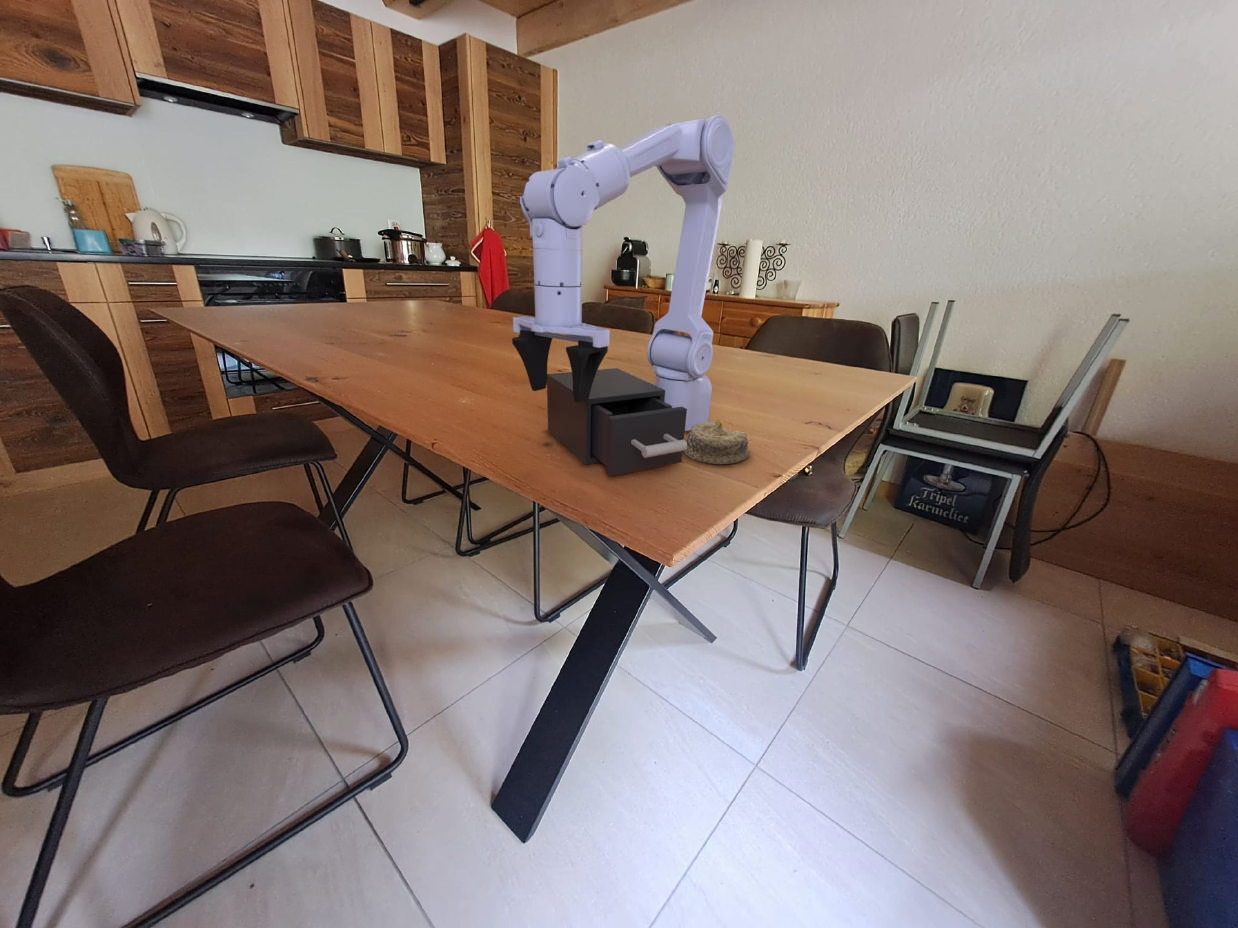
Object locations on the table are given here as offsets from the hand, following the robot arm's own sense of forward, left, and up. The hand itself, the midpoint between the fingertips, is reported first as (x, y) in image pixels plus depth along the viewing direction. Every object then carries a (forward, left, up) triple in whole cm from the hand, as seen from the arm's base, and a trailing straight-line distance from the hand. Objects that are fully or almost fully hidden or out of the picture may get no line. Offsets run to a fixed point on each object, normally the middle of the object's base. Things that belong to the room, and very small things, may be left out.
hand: (559, 394), depth 62 cm
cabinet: (-9, -5, -10) cm, 14 cm away
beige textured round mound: (-23, +6, -10) cm, 26 cm away
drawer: (-9, +4, -9) cm, 13 cm away
